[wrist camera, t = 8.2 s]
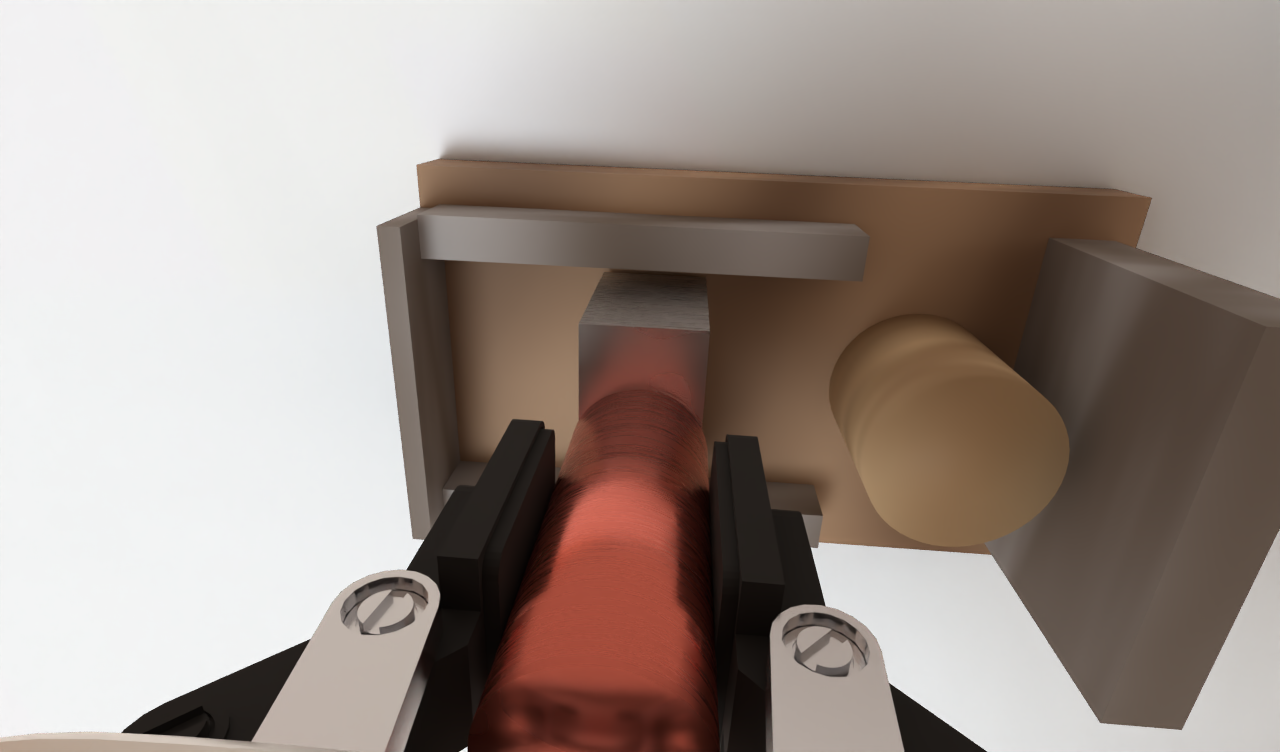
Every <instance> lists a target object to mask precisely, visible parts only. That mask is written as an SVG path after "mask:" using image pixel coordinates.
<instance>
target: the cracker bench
mask: <svg viewBox="0 0 1280 752" xmlns="http://www.w3.org/2000/svg"><path fill="white" fill-rule="evenodd" d="M417 176H418V187H419V198H420V208H418V209H415V210H413V211H411V212H408V213H406V214H404V215H401V216H399V217H397V218H394V219H392V220H390V221H387V222H385V223H383V224H380V225H378V226H377V235H378V243H379V252H380V260H381V269H382V278H383V286H384V295H385V303H386V312H387V321H388V329H389V338H390V346H391V355H392V364H393V372H394V381H395V389H396V398H397V407H398V415H399V424H400V432H401V441H402V450H403V458H404V467H405V475H406V484H407V493H408V501H409V510H410V518H411V527H412V536H413V539H422V540H425V538H426V536H427V535H428V533H429V531H430V530H431V528H432V526H433V525H434V523H435V521H436V520H437V518H438V516H439V515H440V513H441V511H442V510H443V508H444V506H445V505H446V503H447V501H448V500H449V498H450V496H451V495H452V493H453V491H454V490H455V489H456V487H457V486H459V485H470V486H476V484H477V482H478V480H479V478H480V476H481V475H482V473H483V471H484V469H485V467H486V466H487V464H488V462H489V460H490V458H491V456H492V455H493V453H494V451H495V449H496V447H497V446H498V444H499V442H500V440H501V438H502V437H503V435H504V433H505V431H506V429H507V427H508V426H509V424H510V422H511V420H512V419H523V420H536V421H543V422H544V424H545V429H553V430H554V431H555V484H556V481H557V478H558V475H559V473H560V470H561V467H562V464H563V461H564V458H565V455H566V453H567V450H568V447H569V444H570V441H571V438H572V435H573V432H574V430H575V427H576V425H577V423H578V421H579V322H580V320H581V318H582V316H583V314H584V312H585V310H586V308H587V305H588V303H589V301H590V299H591V297H592V295H593V293H594V291H595V289H596V287H597V285H598V283H599V281H600V279H601V277H602V275H603V273H604V272H611V273H630V274H649V275H668V276H687V277H706V284H707V298H708V312H709V325H710V336H709V349H708V361H707V374H706V386H705V399H704V411H703V424H702V430H703V432H704V435H705V438H706V443H707V452H708V476H709V486H710V476H711V466H712V456H713V447H714V441H717V442H725V439H726V435H727V434H729V435H743V436H756V437H758V442H759V447H760V452H761V458H762V463H763V468H764V474H765V479H766V485H767V490H768V495H769V501H770V506H771V509H778V510H791V511H799V512H801V514H802V517H803V520H804V524H805V528H806V532H807V536H808V540H809V544H810V547H813V548H818V543H819V542H823V543H837V544H851V545H865V546H878V547H892V548H906V549H920V550H934V551H948V552H961V553H975V554H989V555H992V556H993V557H994V559H995V561H996V562H997V564H998V565H999V567H1000V568H1001V570H1002V571H1003V573H1004V574H1005V576H1006V578H1007V579H1008V581H1009V582H1010V584H1011V585H1012V587H1013V588H1014V590H1015V592H1016V593H1017V595H1018V596H1019V598H1020V599H1021V601H1022V602H1023V604H1024V605H1025V607H1026V609H1027V610H1028V612H1029V613H1030V615H1031V616H1032V618H1033V619H1034V621H1035V622H1036V624H1037V626H1038V627H1039V629H1040V630H1041V632H1042V633H1043V635H1044V636H1045V638H1046V640H1047V641H1048V643H1049V644H1050V646H1051V647H1052V649H1053V650H1054V652H1055V653H1056V655H1057V657H1058V658H1059V660H1060V661H1061V663H1062V664H1063V666H1064V667H1065V669H1066V670H1067V672H1068V674H1069V675H1070V677H1071V678H1072V680H1073V681H1074V683H1075V684H1076V686H1077V688H1078V689H1079V691H1080V692H1081V694H1082V695H1083V697H1084V698H1085V700H1086V701H1087V703H1088V705H1089V706H1090V708H1091V709H1092V711H1093V712H1094V714H1095V715H1096V717H1097V718H1098V720H1099V722H1100V723H1107V724H1119V725H1131V726H1142V727H1154V728H1166V729H1178V730H1182V728H1183V726H1184V724H1185V722H1186V720H1187V718H1188V716H1189V714H1190V712H1191V710H1192V708H1193V706H1194V704H1195V702H1196V700H1197V697H1198V695H1199V693H1200V691H1201V689H1202V687H1203V685H1204V683H1205V681H1206V679H1207V677H1208V675H1209V673H1210V671H1211V669H1212V667H1213V665H1214V663H1215V660H1216V658H1217V656H1218V654H1219V652H1220V650H1221V648H1222V646H1223V644H1224V642H1225V640H1226V638H1227V636H1228V634H1229V632H1230V630H1231V628H1232V626H1233V623H1234V621H1235V619H1236V617H1237V615H1238V613H1239V611H1240V609H1241V607H1242V605H1243V603H1244V601H1245V599H1246V597H1247V595H1248V593H1249V591H1250V589H1251V586H1252V584H1253V582H1254V580H1255V578H1256V576H1257V574H1258V572H1259V570H1260V568H1261V566H1262V564H1263V562H1264V560H1265V558H1266V556H1267V554H1268V552H1269V549H1270V547H1271V545H1272V543H1273V541H1274V539H1275V537H1276V535H1277V533H1278V531H1279V529H1280V299H1278V298H1276V297H1273V296H1270V295H1267V294H1264V293H1261V292H1259V291H1256V290H1253V289H1250V288H1247V287H1244V286H1242V285H1239V284H1236V283H1233V282H1230V281H1227V280H1225V279H1222V278H1219V277H1216V276H1213V275H1210V274H1208V273H1205V272H1202V271H1199V270H1196V269H1193V268H1191V267H1188V266H1185V265H1182V264H1179V263H1177V262H1174V261H1171V260H1168V259H1165V258H1162V257H1160V256H1157V255H1154V254H1151V253H1148V252H1145V251H1143V250H1140V249H1137V248H1136V246H1137V243H1138V240H1139V236H1140V233H1141V230H1142V227H1143V224H1144V221H1145V218H1146V215H1147V212H1148V209H1149V206H1150V202H1151V199H1152V198H1150V197H1146V196H1141V195H1137V194H1133V193H1128V192H1124V191H1120V190H1116V189H1100V188H1077V187H1054V186H1032V185H1009V184H987V183H964V182H942V181H919V180H897V179H874V178H852V177H829V176H806V175H784V174H761V173H739V172H716V171H694V170H671V169H649V168H626V167H603V166H581V165H558V164H536V163H513V162H491V161H468V160H446V159H437V160H433V161H429V162H426V163H422V164H418V165H417ZM906 314H931V315H936V316H940V317H944V318H947V319H949V320H952V321H954V322H956V323H957V324H959V325H961V326H963V327H964V328H965V329H966V330H968V331H969V332H970V333H971V334H972V335H974V336H975V337H976V338H977V339H978V340H979V341H980V342H982V343H983V344H984V345H985V346H986V347H987V348H989V349H990V350H991V351H992V352H993V353H994V354H995V355H997V356H998V357H999V358H1000V359H1001V360H1002V361H1004V362H1005V363H1006V364H1007V365H1008V366H1009V367H1010V368H1012V369H1013V370H1014V371H1015V372H1016V373H1017V374H1019V375H1020V376H1021V377H1022V378H1023V379H1024V380H1025V381H1027V382H1028V383H1029V384H1030V385H1031V386H1032V387H1034V388H1035V389H1036V390H1037V391H1038V392H1039V393H1040V394H1042V395H1043V396H1044V397H1045V398H1046V399H1047V400H1048V401H1049V402H1050V403H1051V404H1052V405H1053V406H1054V407H1055V408H1056V410H1057V411H1058V413H1059V414H1060V416H1061V418H1062V420H1063V422H1064V424H1065V427H1066V430H1067V434H1068V438H1069V448H1070V452H1069V462H1068V466H1067V470H1066V474H1065V476H1064V479H1063V481H1062V484H1061V485H1060V487H1059V489H1058V491H1057V492H1056V494H1055V495H1054V497H1053V498H1052V499H1051V501H1050V502H1049V503H1048V505H1047V506H1046V507H1045V508H1044V509H1043V510H1042V511H1041V512H1040V513H1039V514H1038V515H1037V516H1035V517H1034V518H1033V519H1032V520H1031V521H1029V522H1028V523H1026V524H1025V525H1023V526H1022V527H1020V528H1019V529H1017V530H1015V531H1013V532H1011V533H1009V534H1008V535H1005V536H1003V537H1000V538H998V539H995V540H992V541H989V542H985V543H982V544H976V545H971V546H960V547H944V546H936V545H930V544H926V543H922V542H919V541H916V540H913V539H911V538H909V537H907V536H905V535H903V534H901V533H899V532H898V531H896V530H895V529H893V528H892V527H891V526H890V525H888V524H887V523H886V522H885V521H884V520H883V519H882V518H881V516H880V515H879V514H878V513H877V511H876V510H875V508H874V506H873V504H872V503H871V501H870V498H869V496H868V494H867V492H866V489H865V487H864V485H863V482H862V480H861V478H860V476H859V473H858V471H857V469H856V466H855V464H854V462H853V459H852V457H851V455H850V453H849V450H848V448H847V446H846V443H845V441H844V439H843V436H842V434H841V432H840V430H839V427H838V425H837V423H836V420H835V418H834V416H833V413H832V410H831V406H830V401H829V384H830V379H831V375H832V372H833V369H834V366H835V364H836V362H837V360H838V359H839V357H840V355H841V354H842V352H843V351H844V349H845V348H846V347H847V346H848V345H849V344H850V343H851V341H852V340H853V339H855V338H856V337H857V336H858V335H859V334H860V333H862V332H863V331H865V330H866V329H868V328H869V327H871V326H873V325H875V324H877V323H879V322H881V321H883V320H886V319H889V318H892V317H896V316H900V315H906Z"/></svg>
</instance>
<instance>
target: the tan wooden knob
mask: <svg viewBox="0 0 1280 752" xmlns="http://www.w3.org/2000/svg"><path fill="white" fill-rule="evenodd" d="M829 401H830V406H831V410H832V413H833V416H834V418H835V420H836V423H837V425H838V427H839V430H840V432H841V434H842V436H843V439H844V441H845V443H846V446H847V448H848V450H849V453H850V455H851V457H852V459H853V462H854V464H855V466H856V469H857V471H858V473H859V476H860V478H861V480H862V482H863V485H864V487H865V489H866V492H867V494H868V496H869V498H870V501H871V503H872V504H873V506H874V508H875V510H876V511H877V513H878V514H879V515H880V516H881V518H882V519H883V520H884V521H885V522H886V523H887V524H888V525H890V526H891V527H892V528H893V529H895V530H896V531H898V532H899V533H901V534H903V535H905V536H907V537H909V538H911V539H913V540H916V541H919V542H922V543H926V544H930V545H936V546H944V547H960V546H971V545H976V544H982V543H985V542H989V541H992V540H995V539H998V538H1000V537H1003V536H1005V535H1008V534H1009V533H1011V532H1013V531H1015V530H1017V529H1019V528H1020V527H1022V526H1023V525H1025V524H1026V523H1028V522H1029V521H1031V520H1032V519H1033V518H1034V517H1035V516H1037V515H1038V514H1039V513H1040V512H1041V511H1042V510H1043V509H1044V508H1045V507H1046V506H1047V505H1048V503H1049V502H1050V501H1051V499H1052V498H1053V497H1054V495H1055V494H1056V492H1057V491H1058V489H1059V487H1060V485H1061V484H1062V481H1063V479H1064V476H1065V474H1066V470H1067V466H1068V462H1069V452H1070V448H1069V438H1068V434H1067V430H1066V427H1065V424H1064V422H1063V420H1062V418H1061V416H1060V414H1059V413H1058V411H1057V410H1056V408H1055V407H1054V406H1053V405H1052V404H1051V403H1050V402H1049V401H1048V400H1047V399H1046V398H1045V397H1044V396H1043V395H1042V394H1040V393H1039V392H1038V391H1037V390H1036V389H1035V388H1034V387H1032V386H1031V385H1030V384H1029V383H1028V382H1027V381H1025V380H1024V379H1023V378H1022V377H1021V376H1020V375H1019V374H1017V373H1016V372H1015V371H1014V370H1013V369H1012V368H1010V367H1009V366H1008V365H1007V364H1006V363H1005V362H1004V361H1002V360H1001V359H1000V358H999V357H998V356H997V355H995V354H994V353H993V352H992V351H991V350H990V349H989V348H987V347H986V346H985V345H984V344H983V343H982V342H980V341H979V340H978V339H977V338H976V337H975V336H974V335H972V334H971V333H970V332H969V331H968V330H966V329H965V328H964V327H963V326H961V325H959V324H957V323H956V322H954V321H952V320H949V319H947V318H944V317H940V316H936V315H931V314H906V315H900V316H896V317H892V318H889V319H886V320H883V321H881V322H879V323H877V324H875V325H873V326H871V327H869V328H868V329H866V330H865V331H863V332H862V333H860V334H859V335H858V336H857V337H856V338H855V339H853V340H852V341H851V343H850V344H849V345H848V346H847V347H846V348H845V349H844V351H843V352H842V354H841V355H840V357H839V359H838V360H837V362H836V364H835V366H834V369H833V372H832V375H831V379H830V384H829Z"/></svg>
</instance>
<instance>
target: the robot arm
mask: <svg viewBox="0 0 1280 752" xmlns="http://www.w3.org/2000/svg"><path fill="white" fill-rule="evenodd" d="M554 487H555V431H554V430H553V429H545V424H544V422H543V421H536V420H523V419H512V420H511V422H510V424H509V426H508V427H507V429H506V431H505V433H504V435H503V437H502V438H501V440H500V442H499V444H498V446H497V447H496V449H495V451H494V453H493V455H492V456H491V458H490V460H489V462H488V464H487V466H486V467H485V469H484V471H483V473H482V475H481V476H480V478H479V480H478V482H477V484H476V486H470V485H459V486H457V487H456V489H455V490H454V491H453V493H452V495H451V496H450V498H449V500H448V501H447V503H446V505H445V506H444V508H443V510H442V511H441V513H440V515H439V516H438V518H437V520H436V521H435V523H434V525H433V526H432V528H431V530H430V531H429V533H428V535H427V536H426V538H425V540H424V541H423V543H422V545H421V546H420V548H419V550H418V552H417V553H416V555H415V557H414V558H413V560H412V562H411V563H410V565H409V567H408V568H407V570H391V571H383V572H379V573H375V574H372V575H368V576H366V577H364V578H362V579H360V580H358V581H355V582H353V583H352V584H351V585H349V586H348V587H347V588H345V589H344V590H343V591H341V592H340V593H339V595H338V596H337V597H336V598H335V600H334V601H333V602H332V603H331V605H330V607H329V609H328V610H327V612H326V614H325V615H324V617H323V619H322V621H321V622H320V624H319V626H318V628H317V629H316V631H315V633H314V634H313V636H312V638H311V639H309V640H307V641H305V642H303V643H300V644H298V645H296V646H294V647H291V648H289V649H287V650H284V651H282V652H280V653H278V654H275V655H273V656H271V657H269V658H266V659H264V660H262V661H259V662H257V663H255V664H253V665H250V666H248V667H246V668H244V669H241V670H239V671H237V672H234V673H232V674H230V675H228V676H225V677H223V678H221V679H219V680H216V681H214V682H212V683H210V684H207V685H205V686H203V687H200V688H198V689H196V690H194V691H191V692H189V693H187V694H185V695H182V696H180V697H178V698H175V699H173V700H171V701H169V702H166V703H164V704H162V705H161V706H159V707H157V708H155V709H153V710H151V711H149V712H148V713H146V714H144V715H143V716H141V717H140V718H139V719H137V720H136V721H135V722H133V723H132V724H131V725H130V726H128V727H127V728H126V729H124V731H123V732H122V733H109V732H66V733H35V734H27V735H18V736H10V737H1V738H0V752H459V751H461V750H463V749H464V748H466V747H467V746H468V737H469V731H470V728H471V725H472V722H473V719H474V716H475V713H476V710H477V708H478V705H479V702H480V699H481V696H482V693H483V690H484V688H485V685H486V682H487V679H488V676H489V673H490V670H491V668H492V665H493V662H494V659H495V656H496V653H497V650H498V647H499V645H500V642H501V639H502V636H503V633H504V630H505V627H506V625H507V622H508V619H509V616H510V613H511V610H512V607H513V604H514V602H515V599H516V596H517V593H518V590H519V587H520V584H521V582H522V579H523V576H524V573H525V570H526V567H527V564H528V561H529V559H530V556H531V553H532V550H533V547H534V544H535V541H536V539H537V536H538V533H539V530H540V527H541V524H542V521H543V518H544V516H545V513H546V510H547V507H548V504H549V501H550V498H551V496H552V493H553V490H554ZM709 513H710V539H711V564H712V589H713V615H714V640H715V657H716V668H717V692H718V716H719V740H720V752H987V751H985V750H984V749H983V748H981V747H980V746H978V745H977V744H975V743H974V742H973V741H971V740H970V739H968V738H967V737H965V736H964V735H963V734H961V733H960V732H958V731H957V730H955V729H954V728H953V727H951V726H950V725H948V724H947V723H945V722H944V721H943V720H941V719H940V718H938V717H937V716H935V715H934V714H933V713H931V712H930V711H928V710H927V709H925V708H924V707H923V706H921V705H920V704H918V703H917V702H915V701H914V700H913V699H911V698H910V697H908V696H907V695H905V694H904V693H903V692H901V691H900V690H898V689H897V688H895V687H894V686H893V685H891V684H890V683H889V681H888V677H887V673H886V668H885V664H884V659H883V655H882V651H881V649H880V646H879V644H878V642H877V639H876V638H875V636H874V635H873V634H872V633H871V632H870V630H869V629H868V628H867V627H866V626H865V625H863V624H862V623H861V622H859V621H858V620H857V619H855V618H854V617H853V616H851V615H848V614H846V613H844V612H842V611H840V610H838V609H834V608H830V607H826V606H825V602H824V598H823V594H822V590H821V586H820V583H819V579H818V575H817V571H816V567H815V563H814V559H813V555H812V551H811V548H810V544H809V540H808V536H807V532H806V528H805V524H804V520H803V517H802V514H801V512H799V511H791V510H778V509H771V506H770V501H769V495H768V490H767V485H766V479H765V474H764V468H763V463H762V458H761V452H760V447H759V442H758V437H756V436H743V435H729V434H727V435H726V439H725V442H717V441H714V447H713V456H712V466H711V476H710V486H709Z"/></svg>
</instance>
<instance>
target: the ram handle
mask: <svg viewBox="0 0 1280 752" xmlns="http://www.w3.org/2000/svg"><path fill="white" fill-rule="evenodd" d="M709 336H710V325H709V312H708V298H707V284H706V277H687V276H668V275H649V274H630V273H611V272H604V273H603V275H602V277H601V279H600V281H599V283H598V285H597V287H596V289H595V291H594V293H593V295H592V297H591V299H590V301H589V303H588V305H587V308H586V310H585V312H584V314H583V316H582V318H581V320H580V322H579V421H578V423H577V425H576V427H575V430H574V432H573V435H572V438H571V441H570V444H569V447H568V450H567V453H566V455H565V458H564V461H563V464H562V467H561V470H560V473H559V475H558V478H557V481H556V484H555V487H554V490H553V493H552V496H551V498H550V501H549V504H548V507H547V510H546V513H545V516H544V518H543V521H542V524H541V527H540V530H539V533H538V536H537V539H536V541H535V544H534V547H533V550H532V553H531V556H530V559H529V561H528V564H527V567H526V570H525V573H524V576H523V579H522V582H521V584H520V587H519V590H518V593H517V596H516V599H515V602H514V604H513V607H512V610H511V613H510V616H509V619H508V622H507V625H506V627H505V630H504V633H503V636H502V639H501V642H500V645H499V647H498V650H497V653H496V656H495V659H494V662H493V665H492V668H491V670H490V673H489V676H488V679H487V682H486V685H485V688H484V690H483V693H482V696H481V699H480V702H479V705H478V708H477V710H476V713H475V716H474V719H473V722H472V725H471V728H470V731H469V737H468V752H720V740H719V716H718V692H717V668H716V657H715V640H714V615H713V589H712V564H711V539H710V513H709V476H708V452H707V443H706V438H705V435H704V432H703V430H702V424H703V411H704V399H705V386H706V374H707V361H708V349H709Z"/></svg>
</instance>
